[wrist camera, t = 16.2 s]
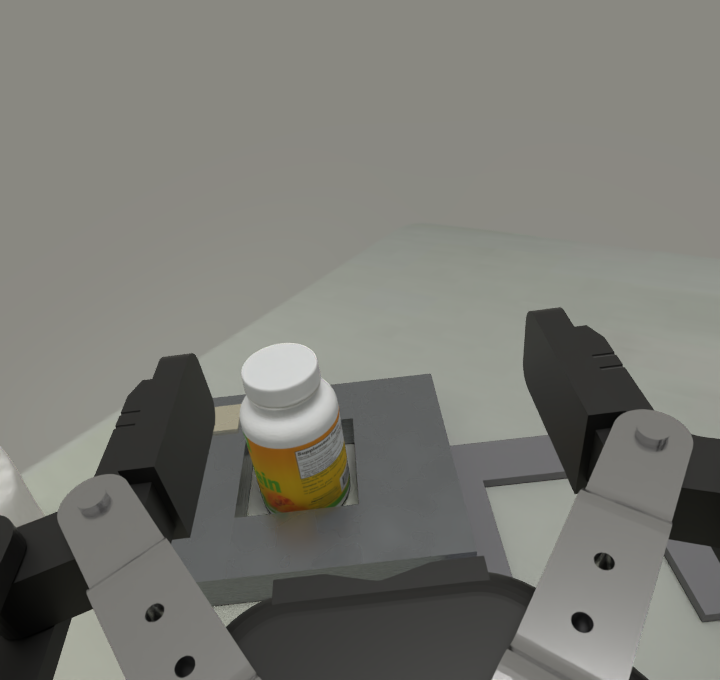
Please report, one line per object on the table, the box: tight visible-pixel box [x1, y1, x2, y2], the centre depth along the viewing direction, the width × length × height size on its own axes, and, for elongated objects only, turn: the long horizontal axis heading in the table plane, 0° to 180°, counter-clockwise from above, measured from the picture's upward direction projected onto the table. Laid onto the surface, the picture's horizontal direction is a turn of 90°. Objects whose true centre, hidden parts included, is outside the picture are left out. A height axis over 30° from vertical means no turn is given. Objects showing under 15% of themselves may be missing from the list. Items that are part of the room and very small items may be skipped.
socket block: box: [171, 374, 477, 606], centre depth 34 cm, size 18×14×2 cm
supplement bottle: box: [240, 343, 350, 514], centre depth 32 cm, size 5×5×10 cm
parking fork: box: [450, 435, 720, 622], centre depth 31 cm, size 12×14×1 cm
